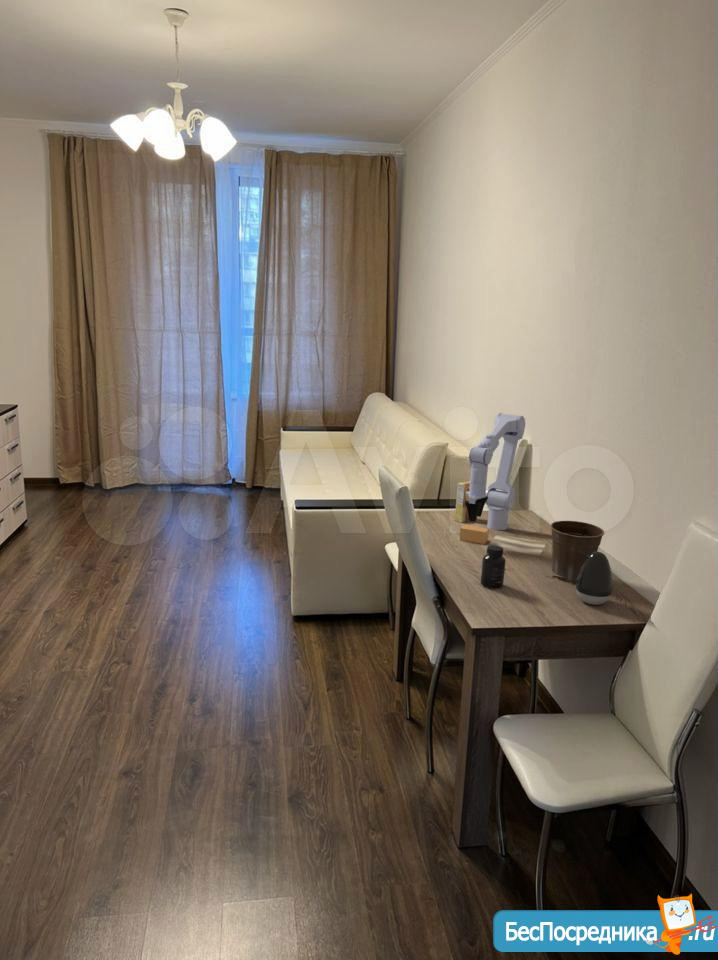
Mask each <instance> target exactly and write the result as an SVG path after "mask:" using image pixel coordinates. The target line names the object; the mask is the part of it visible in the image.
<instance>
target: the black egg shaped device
mask: <svg viewBox="0 0 718 960" xmlns="http://www.w3.org/2000/svg"><path fill="white" fill-rule="evenodd" d="M579 554H580V555H581V556H582V557H584V558H585V559H586V560H585V561H584V563H583V565H582V567H581V569H580V571H579V574H578V577H577V581H576V583H575V589H576V593H577V596H578V598H579V599H580V600H581V601H582V602H583V603H585V604H587V605H591V604H593V605H592V606H595V605H596V606H599V605H602V604H605V603H607V602H608V600H610V597H611V595H612V594H613V589H614V587H613V582H614V580H613V573H612V567H611V564H610V561H609V558H608V557H607V556H606V555H607V554H605V553H603V552H601V551H596V552H592V553H591V554H590V555H588V554H586V553H584V552H582V551H580V552H579Z"/></svg>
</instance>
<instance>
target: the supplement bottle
mask: <svg viewBox="0 0 718 960" xmlns="http://www.w3.org/2000/svg"><path fill="white" fill-rule="evenodd" d="M487 546H488V545H487ZM487 546H486V554H484V556H483V557H482V561H481V563H482V564H481V574H480V584H482V585H483V586H482V585H481V586H482V587H484V586H485V587H484V588H486V587H488V588H487V589H490V588H499V589H501V588H503V587H504V583H505V582H504V581H505V580H504V579H505V573H506V572H505V570H506V558H505V557H504V550H503V548H502V547H500V546H496V545H491V546H488V547H487ZM500 587H501V588H500Z"/></svg>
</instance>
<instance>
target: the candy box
mask: <svg viewBox="0 0 718 960" xmlns="http://www.w3.org/2000/svg"><path fill="white" fill-rule="evenodd" d="M469 487H470V480H467V481H463V482H462V481H461V482H458V483H457V489H456V498H455V499H456V501H455V510H454V511H455V512H454V521H455V520H456V521H455V522H458V521H460V522H459V523H461V522H463V523H466V522H465V521H467V522H470V521H469V516H468V510H467V507H466V505H465V501H469V495H466V492H469Z"/></svg>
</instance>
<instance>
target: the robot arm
mask: <svg viewBox="0 0 718 960" xmlns="http://www.w3.org/2000/svg"><path fill="white" fill-rule="evenodd" d="M525 429H526V419H525V417H524V416H523V415H515V414H508V413H502V412H499V413H498V414H497V415H496V417H495V419H494V426H493V429H492V431H491V432H490V434H486V435H485V436H484V437H483V438H482V439H481V441H480V442H479V443H478V444H477V446H474V447H472V448H471V449H470V450H469V454H468V461H469V468H470V477H469V481H470V487H469V492H466V495H469V501H465V505H466V507H467V510H468V516H469V521H468V522H473V523H476V521H477V520H478V519H477V518H478V517H480V518H481V516H482V513H483V510H484V508H485V505H486V506H487V509H488V513H487V514H488V515H487V524H486V525H487V527H486V528H489V530H493V531H505V530H507V529H509V530H510V527H509V526H508V524H509V516H510V515H509V513H510V512H509V510H510V509H511V508H512V509H513V506H514V504H515V493H516V491H515V489H514V487H513V486H512V485H511V484H510V481H511V476H512V471H513V465H514V460H515V456H516V452H517V446H518V442H519V440H521V439H523V436H524V434H525ZM501 438H503V441H504V442H503V446H502V451H501V454H500V455H501V456H500V459H499V460H500V461H499V465H498V469H497V474H496V479H495V481H494V482H492V483H491V484H488V486H487V481H488V470H489V465H490V464H491V461H492V459H493V456H494V453H495V451H496V449H497V448H498V447H499V444H500V439H501Z"/></svg>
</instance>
